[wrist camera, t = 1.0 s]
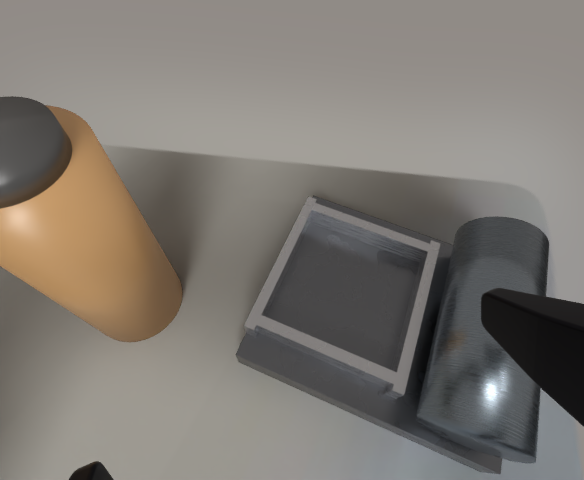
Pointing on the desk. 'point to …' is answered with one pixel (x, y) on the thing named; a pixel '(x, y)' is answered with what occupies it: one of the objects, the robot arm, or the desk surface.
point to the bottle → (78, 225)
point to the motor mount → (403, 328)
